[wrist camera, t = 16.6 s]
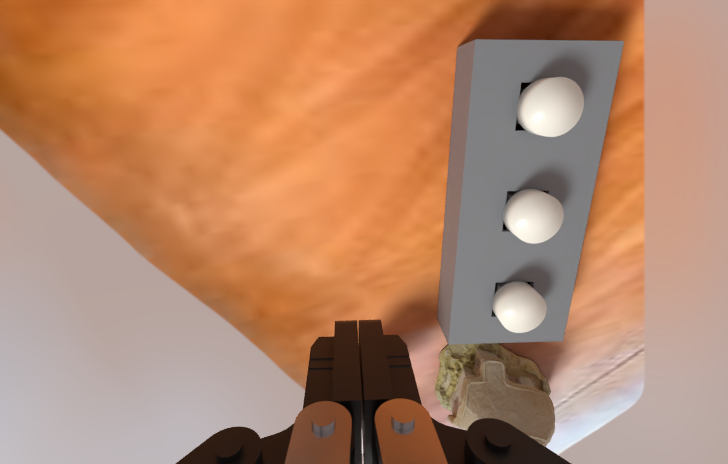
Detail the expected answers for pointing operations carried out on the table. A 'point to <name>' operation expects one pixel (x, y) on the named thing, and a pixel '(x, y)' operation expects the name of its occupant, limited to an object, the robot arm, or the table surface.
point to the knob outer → (518, 306)
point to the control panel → (517, 181)
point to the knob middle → (532, 215)
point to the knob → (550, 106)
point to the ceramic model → (494, 389)
